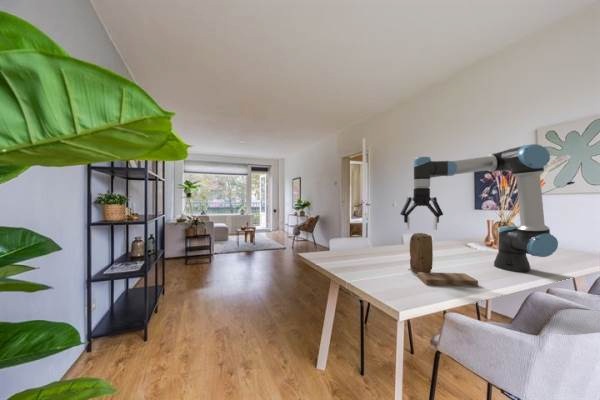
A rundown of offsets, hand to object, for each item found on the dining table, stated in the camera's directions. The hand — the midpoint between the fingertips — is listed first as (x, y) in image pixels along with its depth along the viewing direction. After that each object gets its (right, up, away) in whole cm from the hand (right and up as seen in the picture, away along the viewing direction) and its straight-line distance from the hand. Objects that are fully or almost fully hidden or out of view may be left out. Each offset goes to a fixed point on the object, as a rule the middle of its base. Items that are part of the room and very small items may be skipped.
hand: (421, 229), depth 125 cm
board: (+6, -23, -11) cm, 26 cm away
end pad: (0, -23, +1) cm, 23 cm away
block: (0, -23, +1) cm, 23 cm away
